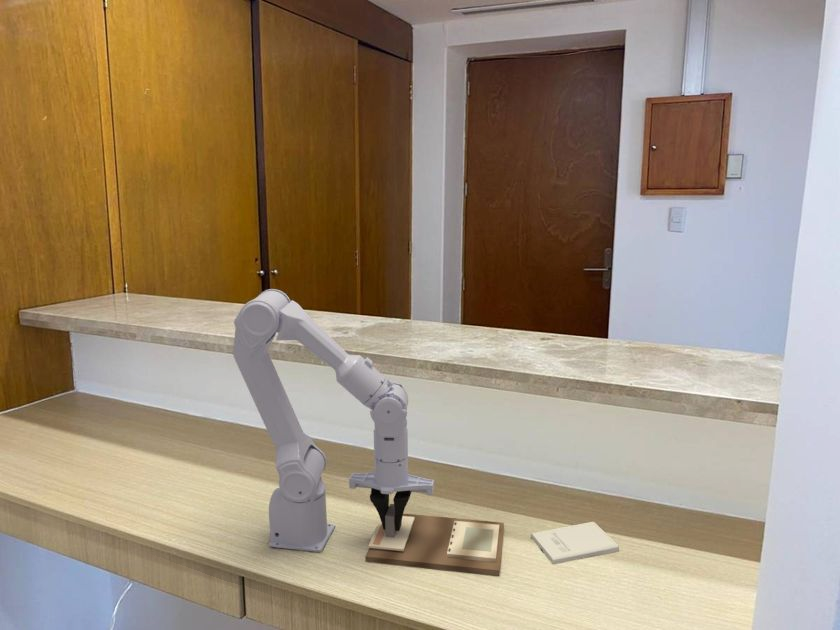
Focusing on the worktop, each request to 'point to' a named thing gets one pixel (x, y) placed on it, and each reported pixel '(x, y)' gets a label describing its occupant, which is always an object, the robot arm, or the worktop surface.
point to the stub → (391, 532)
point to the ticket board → (447, 546)
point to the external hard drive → (574, 542)
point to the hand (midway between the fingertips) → (392, 527)
